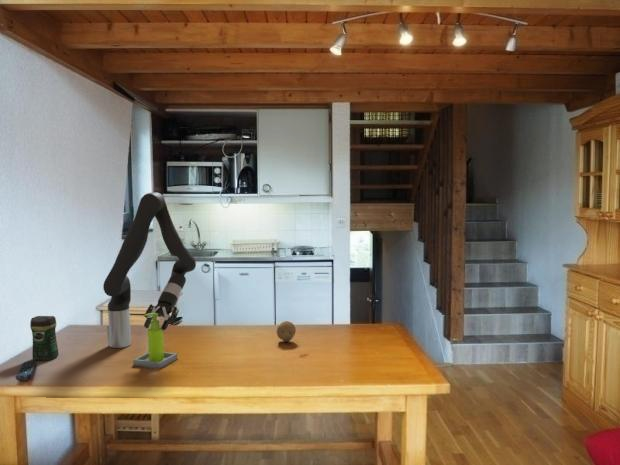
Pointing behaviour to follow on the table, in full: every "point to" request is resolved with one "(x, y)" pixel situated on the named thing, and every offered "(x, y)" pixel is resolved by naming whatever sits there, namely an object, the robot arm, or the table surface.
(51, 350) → the coffee jar
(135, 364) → the tray
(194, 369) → the table surface
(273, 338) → the table surface
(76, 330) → the table surface
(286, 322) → the natural sponge
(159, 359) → the soap dispenser
